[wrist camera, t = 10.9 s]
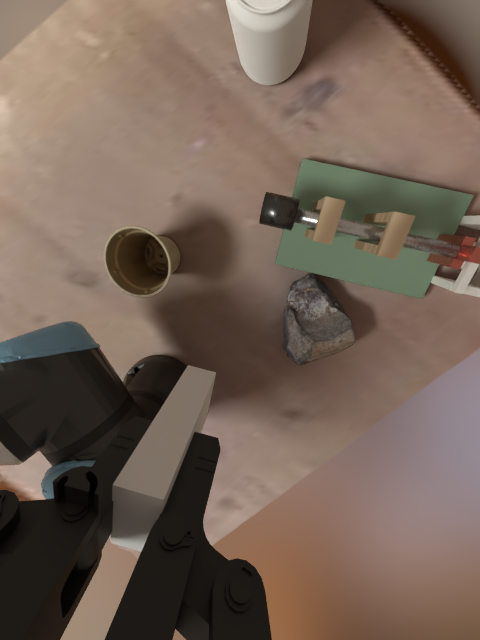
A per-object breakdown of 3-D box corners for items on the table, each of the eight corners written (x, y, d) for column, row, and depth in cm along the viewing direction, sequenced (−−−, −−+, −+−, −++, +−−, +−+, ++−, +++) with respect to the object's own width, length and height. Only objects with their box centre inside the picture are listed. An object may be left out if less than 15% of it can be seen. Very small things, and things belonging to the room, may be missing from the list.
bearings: (304, 236, 37) (312, 240, 28) (313, 202, 36) (326, 196, 26) (366, 250, 37) (396, 260, 28) (379, 217, 35) (415, 216, 26)
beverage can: (294, 94, 33) (303, 28, 22) (232, 81, 33) (210, 11, 22) (314, 7, 30) (336, -119, 19) (246, -5, 30) (228, -136, 19)
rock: (361, 335, 43) (372, 350, 38) (303, 369, 47) (306, 386, 42) (312, 265, 40) (317, 271, 35) (254, 306, 44) (251, 317, 39)
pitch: (275, 262, 41) (275, 264, 39) (301, 161, 35) (302, 158, 34) (417, 296, 39) (422, 299, 38) (466, 196, 34) (473, 195, 33)
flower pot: (182, 219, 40) (158, 218, 32) (197, 279, 43) (178, 292, 35) (128, 231, 42) (93, 233, 34) (145, 287, 45) (117, 301, 37)
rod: (261, 223, 37) (257, 223, 30) (268, 195, 36) (265, 189, 28) (436, 263, 36) (478, 274, 28) (450, 236, 34) (497, 240, 27)
